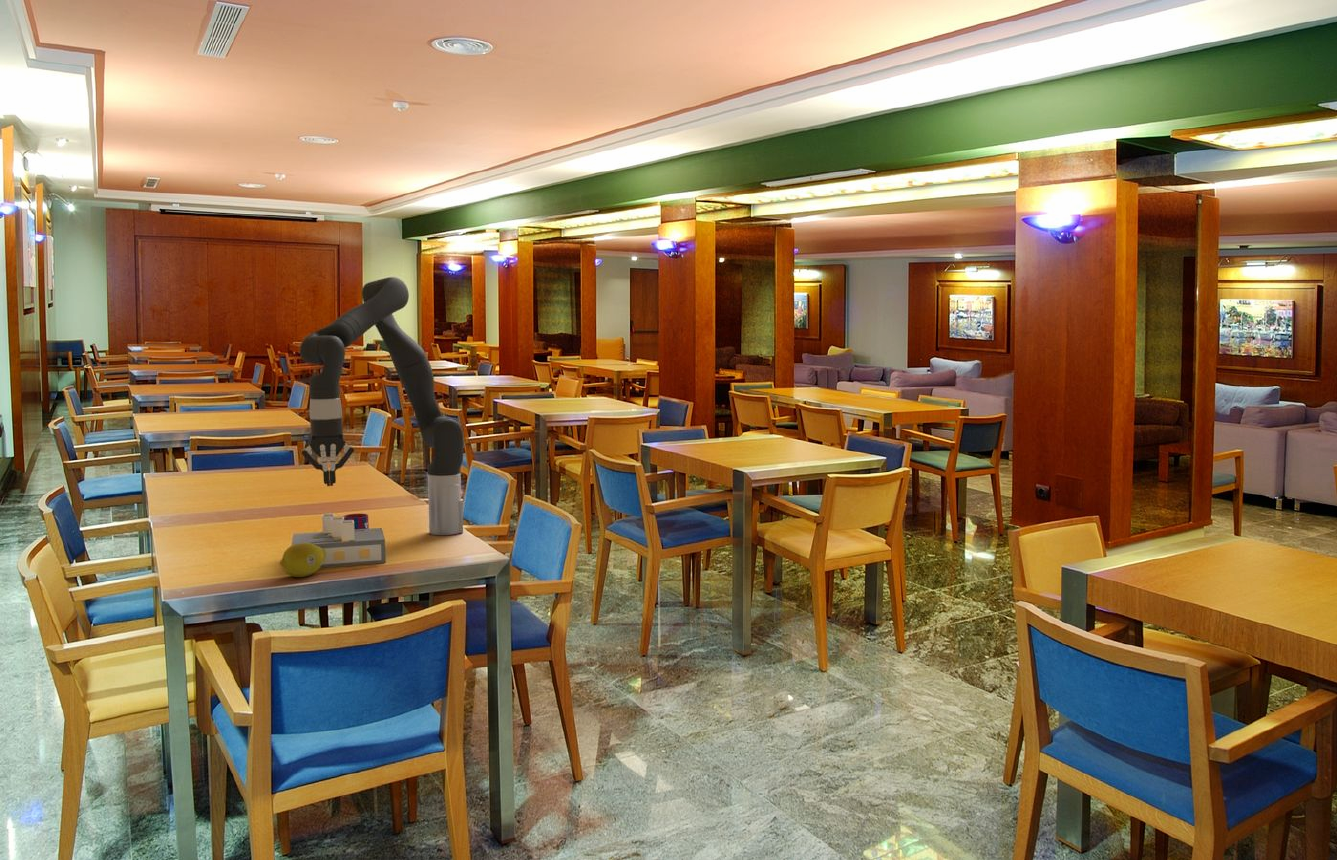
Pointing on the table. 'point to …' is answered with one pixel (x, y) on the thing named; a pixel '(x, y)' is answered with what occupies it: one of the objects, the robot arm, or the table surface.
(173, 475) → the table surface
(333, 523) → the slider mid
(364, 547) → the console
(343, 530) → the slider near
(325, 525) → the slider far
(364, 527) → the mug
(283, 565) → the lemon
